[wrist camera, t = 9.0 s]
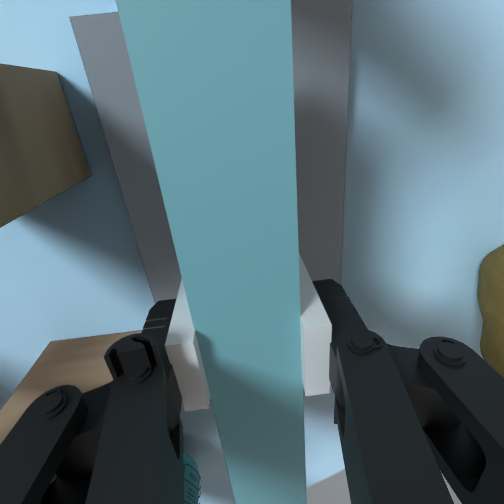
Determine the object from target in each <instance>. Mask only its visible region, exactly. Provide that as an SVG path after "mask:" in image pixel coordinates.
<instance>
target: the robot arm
mask: <svg viewBox="0 0 504 504" xmlns="http://www.w3.org/2000/svg"><path fill="white" fill-rule="evenodd" d="M299 279H300V311H301V316H300V329H301V360H302V384H303V388H304V392H305V395H306V396H312V395H320V394H328V393H330V383H331V385H332V388H333V391H334V394H335V409H334V424H338V430H339V436H340V441H341V447H342V453H343V459H344V465H345V470H346V476H347V482H348V488H349V492H350V499H351V504H454V502H453V500H452V498H451V495H450V493H449V491H448V488H447V486H446V484H445V481H444V479H443V477H442V474H443V476H444V477H445V479H446V480H447V482H448V483H449V484H450V486H451V488H452V489H453V491H454V492H455V494H456V495H457V497H458V498H459V500H460V501H461V503H462V504H504V378H503V377H502V376H501V375H500V374H499V373H498V372H497V371H495V370H494V369H493V368H492V367H491V366H490V365H489V364H488V363H487V362H486V361H484V360H483V359H482V358H481V357H480V356H479V355H478V354H477V353H476V352H475V351H473V350H472V349H471V348H469V347H468V346H466V345H465V344H464V343H461V342H459V341H457V340H454V339H451V338H446V337H431V338H428V339H426V340H424V341H423V342H422V344H421V345H420V349H413V348H405V347H398V346H393V345H389V344H386V343H385V341H384V340H383V338H382V337H380V336H379V335H377V334H376V333H375V332H372V331H369V330H368V329H367V327H366V326H365V324H364V322H363V321H362V319H361V317H360V316H359V314H358V312H357V311H356V309H355V307H354V306H353V304H352V303H351V301H350V299H349V297H348V296H347V294H346V292H345V291H344V289H343V287H342V286H341V285H340V284H338V283H337V282H336V281H334V280H333V279H325V280H317V281H312V280H311V278H310V276H309V274H308V272H307V269H306V267H305V265H304V263H303V261H302V258H301V256H300V254H299ZM104 359H105V362H106V364H107V366H108V368H109V371H110V373H111V375H112V378H113V381H111V382H109V383H107V384H105V385H103V386H100V387H98V388H95V389H93V390H90V391H87V392H85V393H81V391H80V389H79V388H77V387H76V386H75V385H68V384H67V385H62V386H57V387H55V388H53V389H50V390H48V391H46V392H45V393H43V394H42V395H40V396H39V397H38V398H36V399H35V400H34V401H33V402H32V403H31V404H30V405H29V407H28V408H27V409H26V410H25V412H24V413H23V414H22V416H21V417H20V418H19V420H18V421H17V423H16V424H15V425H14V427H13V428H12V429H11V431H10V432H9V433H8V435H7V436H6V438H5V439H4V440H3V442H2V443H1V444H0V504H184V464H183V427H182V423H181V419H180V409H181V402H182V404H183V407H184V411H185V412H189V411H196V410H204V409H209V408H210V391H209V387H208V383H207V379H206V375H205V370H204V366H203V362H202V358H201V354H200V349H199V345H198V341H197V337H196V332H195V330H194V327H193V322H192V318H191V314H190V310H189V306H188V301H187V297H186V293H185V289H184V285H183V281H182V279H181V283H180V287H179V291H178V295H177V299H169V300H160V301H158V302H157V303H156V304H155V305H154V306H153V307H152V308H151V309H150V311H149V313H148V316H147V319H146V322H145V324H144V327H143V330H142V333H137V334H131V335H128V336H125V337H123V338H121V339H120V340H118V341H116V342H115V343H113V344H112V345H111V346H110V347H109V348H108V349H107V351H106V353H105V355H104ZM440 471H441V472H442V474H441V472H440Z"/></svg>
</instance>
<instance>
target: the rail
mask: <svg viewBox="0 0 504 504" xmlns="http://www.w3.org/2000/svg"><path fill="white" fill-rule="evenodd" d="M116 4H117V8H118V12H119V16H120V21H121V25H122V29H123V33H124V37H125V42H126V46H127V50H128V54H129V58H130V63H131V67H132V71H133V75H134V79H135V84H136V88H137V92H138V96H139V100H140V105H141V109H142V113H143V117H144V121H145V125H146V130H147V134H148V138H149V142H150V146H151V151H152V155H153V159H154V163H155V167H156V172H157V176H158V180H159V184H160V188H161V193H162V197H163V201H164V205H165V209H166V213H167V218H168V222H169V226H170V230H171V234H172V239H173V243H174V247H175V251H176V255H177V260H178V264H179V268H180V272H181V276H182V281H183V285H184V289H185V293H186V297H187V301H188V306H189V310H190V314H191V318H192V322H193V327H194V330H195V332H196V337H197V341H198V345H199V349H200V354H201V358H202V362H203V366H204V370H205V375H206V379H207V383H208V387H209V391H210V398H211V402H212V406H213V410H214V415H215V419H216V423H217V427H218V431H219V436H220V440H221V444H222V448H223V452H224V457H225V461H226V465H227V469H228V473H229V477H230V482H231V486H232V490H233V494H234V498H235V503H236V504H307V503H306V470H305V438H304V406H303V384H302V360H301V329H300V316H301V311H300V279H299V247H298V215H297V183H296V152H295V120H294V88H293V56H292V24H291V0H116Z"/></svg>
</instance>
